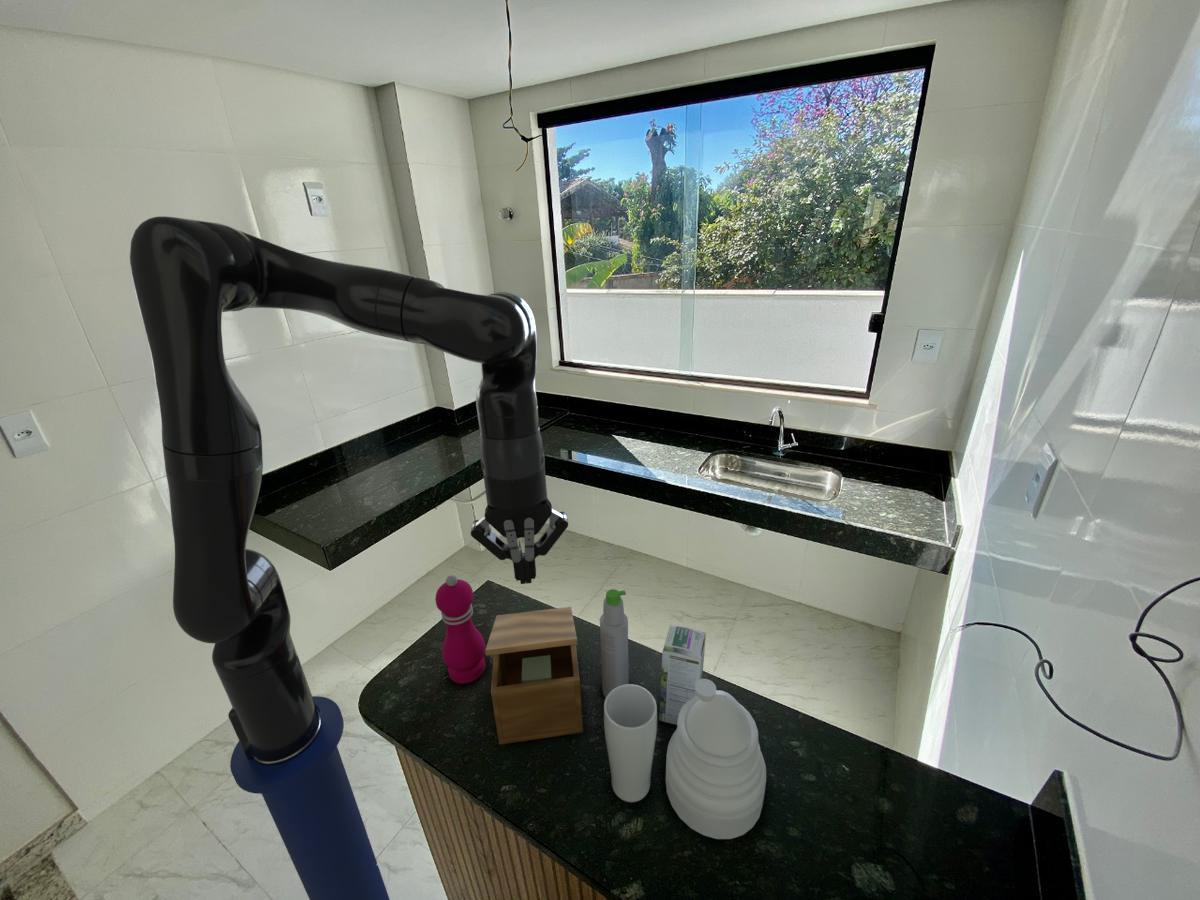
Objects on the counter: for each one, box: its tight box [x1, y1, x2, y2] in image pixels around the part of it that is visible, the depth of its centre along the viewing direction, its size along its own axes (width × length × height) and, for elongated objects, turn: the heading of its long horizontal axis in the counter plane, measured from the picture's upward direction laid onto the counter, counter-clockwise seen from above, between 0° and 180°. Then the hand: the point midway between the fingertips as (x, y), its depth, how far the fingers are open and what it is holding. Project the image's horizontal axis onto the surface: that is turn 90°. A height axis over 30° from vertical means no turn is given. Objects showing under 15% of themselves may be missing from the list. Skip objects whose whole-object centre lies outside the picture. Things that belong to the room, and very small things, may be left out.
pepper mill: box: [434, 574, 487, 685], centre depth 82 cm, size 7×7×20 cm
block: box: [522, 655, 552, 683], centre depth 76 cm, size 4×4×8 cm
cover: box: [484, 606, 578, 656], centre depth 74 cm, size 15×13×1 cm
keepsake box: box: [490, 644, 584, 745], centre depth 78 cm, size 15×13×11 cm
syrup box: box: [658, 624, 707, 726], centre depth 74 cm, size 6×6×14 cm
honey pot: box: [665, 678, 767, 840], centre depth 62 cm, size 13×13×18 cm
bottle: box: [599, 588, 630, 699], centre depth 77 cm, size 4×4×20 cm
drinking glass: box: [603, 683, 658, 803], centre depth 63 cm, size 7×7×15 cm
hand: (526, 579), depth 66 cm, fingers closed
